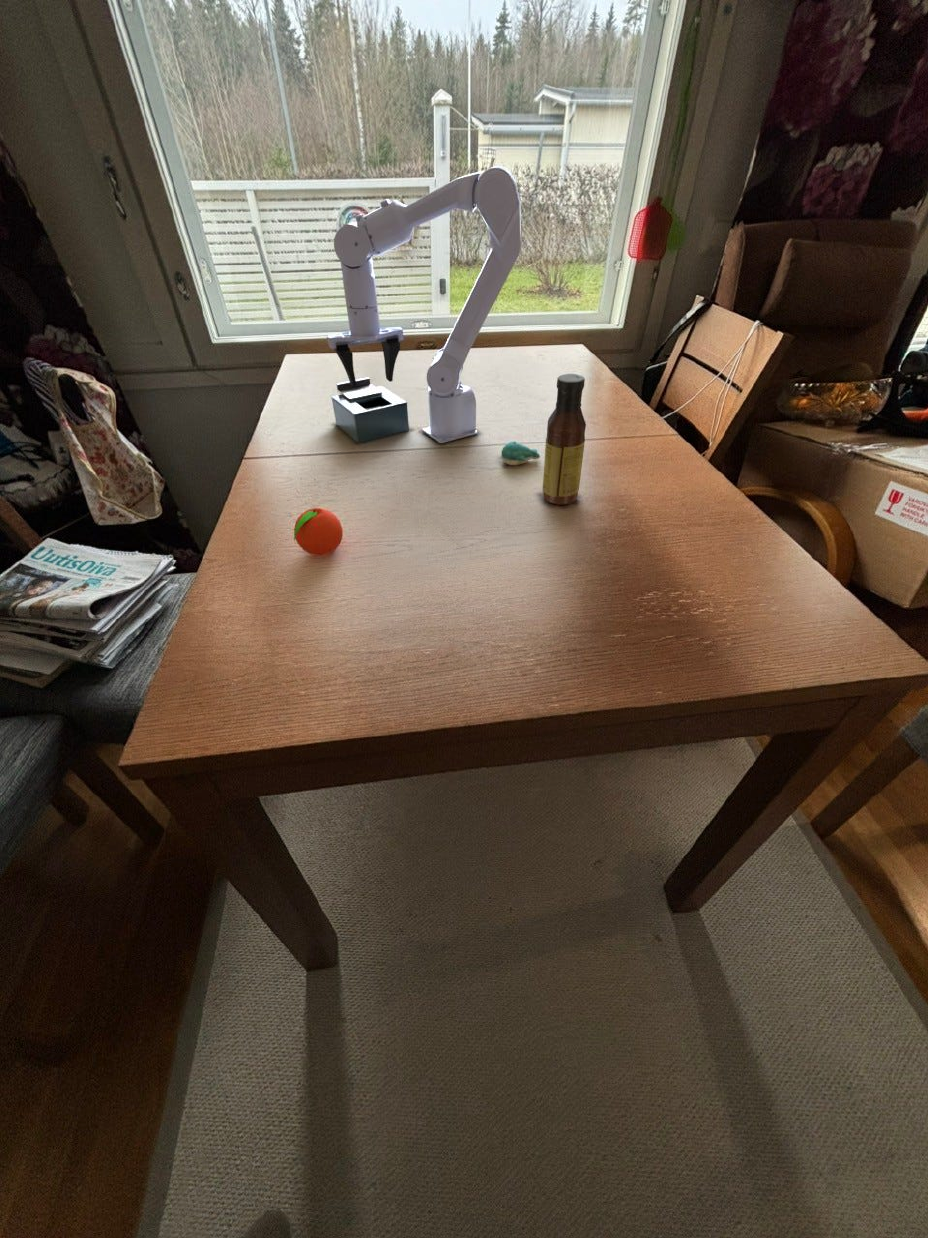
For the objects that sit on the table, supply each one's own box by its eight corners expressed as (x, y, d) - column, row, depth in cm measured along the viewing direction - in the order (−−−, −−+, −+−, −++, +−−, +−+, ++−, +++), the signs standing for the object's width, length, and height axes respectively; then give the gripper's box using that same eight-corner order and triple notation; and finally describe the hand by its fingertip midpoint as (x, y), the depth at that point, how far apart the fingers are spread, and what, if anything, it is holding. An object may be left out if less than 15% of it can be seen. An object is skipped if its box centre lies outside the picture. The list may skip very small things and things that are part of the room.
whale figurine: (498, 455, 100) (499, 436, 98) (534, 453, 101) (536, 434, 98) (504, 468, 96) (505, 449, 93) (541, 466, 97) (543, 447, 94)
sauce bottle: (579, 492, 89) (600, 373, 76) (573, 509, 85) (593, 386, 71) (543, 486, 91) (557, 368, 77) (535, 503, 87) (548, 381, 73)
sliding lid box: (384, 412, 117) (381, 385, 113) (409, 430, 109) (407, 402, 105) (336, 424, 112) (331, 396, 108) (358, 443, 105) (354, 414, 101)
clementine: (319, 574, 72) (308, 532, 67) (284, 559, 75) (272, 517, 70) (355, 547, 77) (348, 506, 72) (322, 533, 80) (313, 493, 75)
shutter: (369, 385, 113) (368, 377, 112) (382, 393, 109) (381, 385, 108) (337, 391, 110) (336, 383, 109) (349, 400, 106) (348, 392, 105)
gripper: (328, 314, 88) (341, 394, 97) (406, 305, 93) (411, 383, 102) (319, 305, 93) (332, 383, 102) (393, 298, 97) (400, 373, 106)
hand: (371, 382), depth 102 cm, fingers open, 7 cm apart
